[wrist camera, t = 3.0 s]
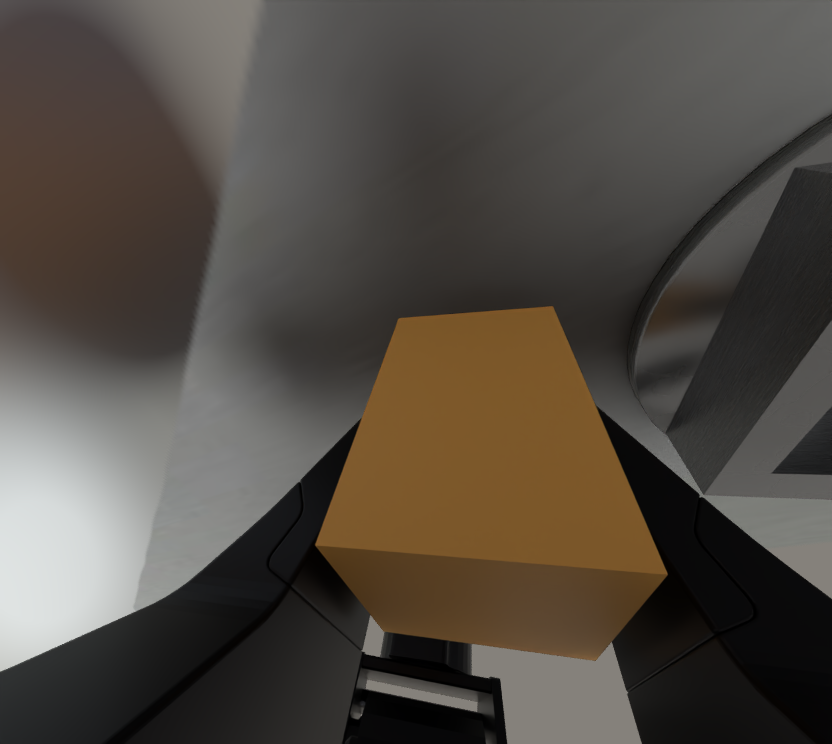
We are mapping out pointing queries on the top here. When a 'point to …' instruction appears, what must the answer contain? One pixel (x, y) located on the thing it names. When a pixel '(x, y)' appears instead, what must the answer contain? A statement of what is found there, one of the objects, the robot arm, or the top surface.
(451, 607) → the orange rectangular block
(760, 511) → the top surface
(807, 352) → the rosette collar
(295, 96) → the top surface
